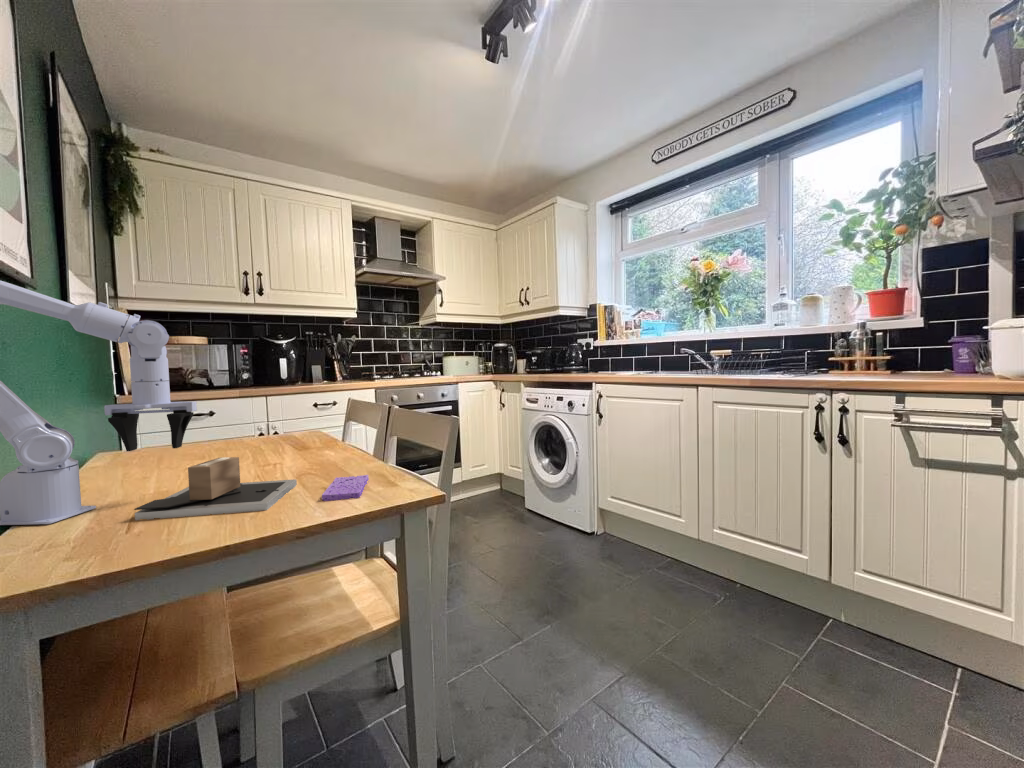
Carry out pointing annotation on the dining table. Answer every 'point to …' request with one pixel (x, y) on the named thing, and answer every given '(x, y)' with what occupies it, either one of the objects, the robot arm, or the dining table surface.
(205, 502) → the picture frame
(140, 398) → the robot arm
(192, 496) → the walnut block
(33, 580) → the dining table surface
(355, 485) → the sponges
